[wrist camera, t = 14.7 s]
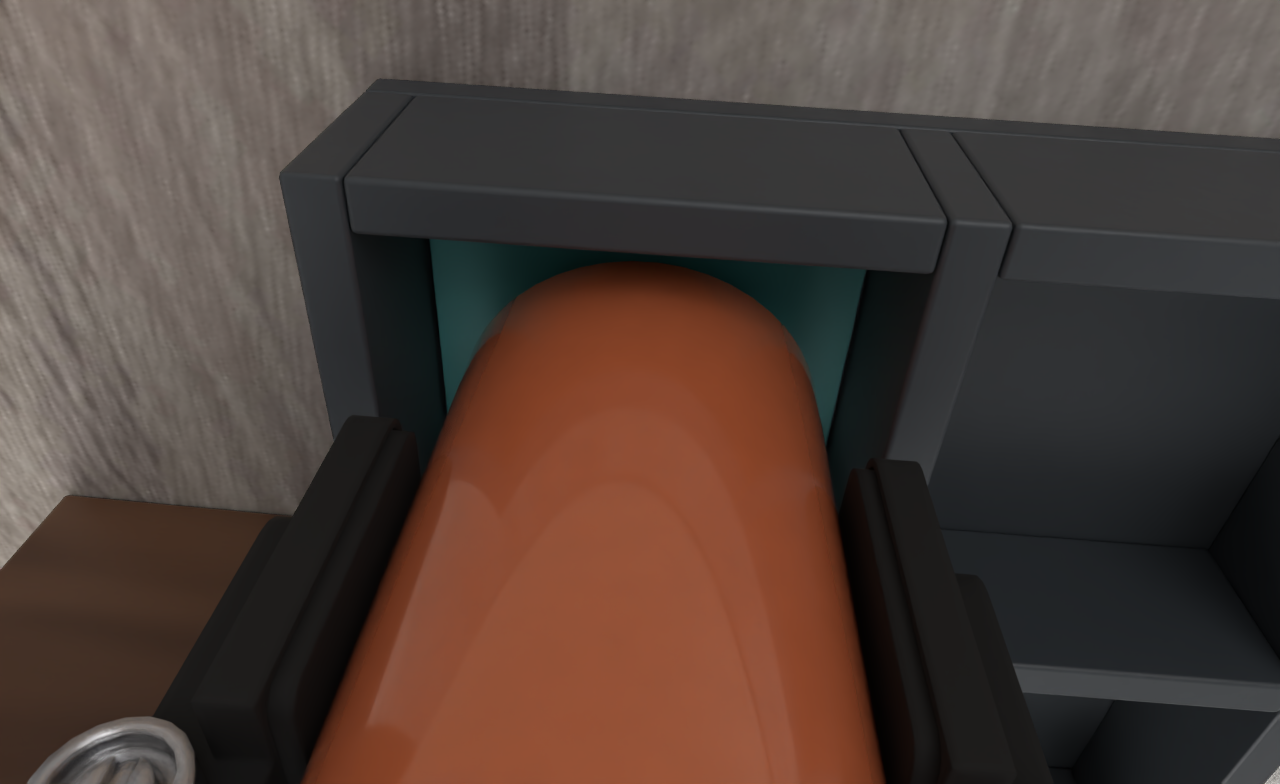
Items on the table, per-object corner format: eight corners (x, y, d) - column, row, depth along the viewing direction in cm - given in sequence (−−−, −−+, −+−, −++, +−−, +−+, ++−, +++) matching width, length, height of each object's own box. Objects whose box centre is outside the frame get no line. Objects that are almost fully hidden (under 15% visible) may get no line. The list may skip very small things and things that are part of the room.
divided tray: (457, 711, 21) (419, 862, 18) (377, 77, 12) (275, 172, 9) (1082, 762, 21) (1144, 923, 18) (1467, 151, 12) (1715, 272, 9)
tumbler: (390, 360, 12) (86, 936, 6) (706, 189, 11) (711, 760, 4) (589, 579, 15) (510, 1145, 9) (873, 469, 13) (1024, 1087, 7)
